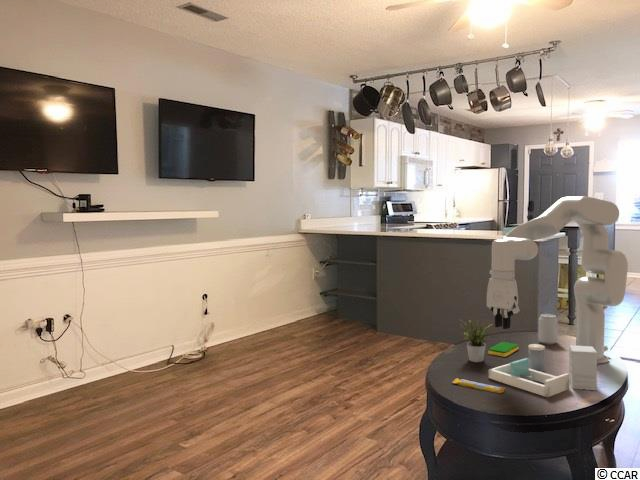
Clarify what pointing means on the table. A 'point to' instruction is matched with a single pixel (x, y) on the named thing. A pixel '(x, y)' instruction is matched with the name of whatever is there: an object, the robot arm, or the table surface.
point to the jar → (536, 357)
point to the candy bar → (478, 385)
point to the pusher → (521, 369)
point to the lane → (551, 382)
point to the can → (548, 329)
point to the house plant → (476, 342)
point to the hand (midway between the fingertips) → (502, 327)
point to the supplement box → (583, 367)
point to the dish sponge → (503, 349)
